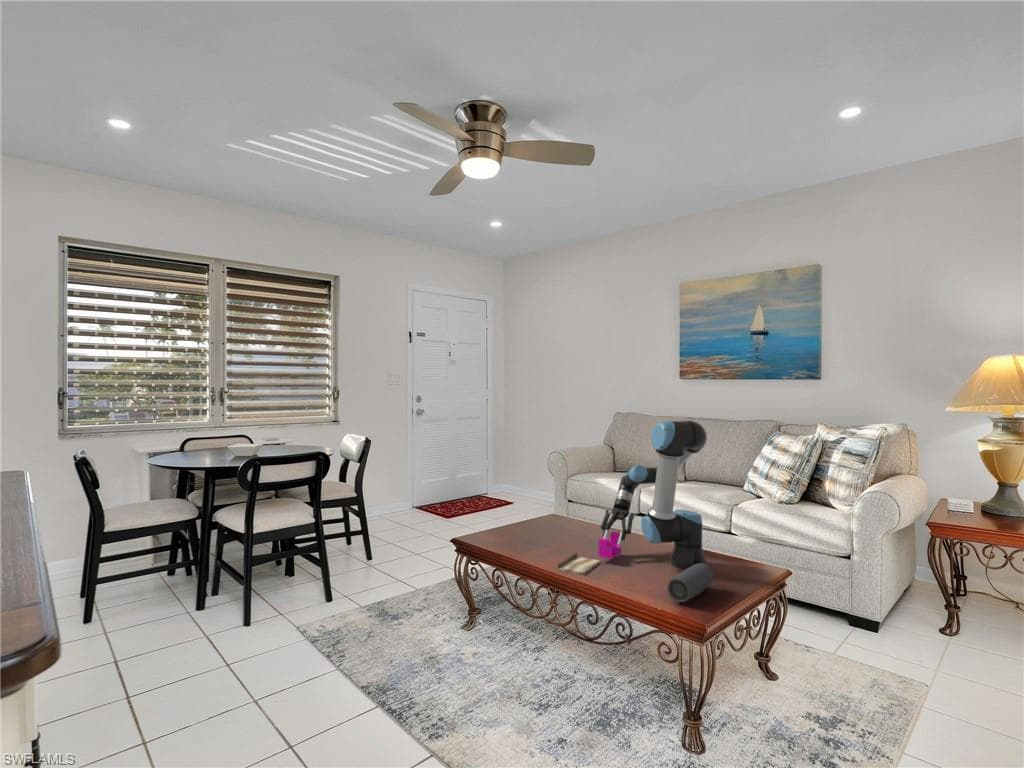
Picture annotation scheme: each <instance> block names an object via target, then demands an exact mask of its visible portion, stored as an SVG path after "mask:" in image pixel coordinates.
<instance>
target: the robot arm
mask: <svg viewBox="0 0 1024 768" xmlns="http://www.w3.org/2000/svg"><path fill="white" fill-rule="evenodd" d="M707 439H708V436H707V432H706V430H705V428H704V427H703V425H701V424H700V423H699V422H696V421H693V420H679V421H676V420H675V421H673V420H666V421H660V422H657V424H655V425H654V426H653V428H652V431H651V436H650V440H651V445H652V448H654V449H655V453H656V454H657V455H658V457H657V458H658V459H657V464H656V466H655V467H645V466H643V465H641V464H635V465H634V466H633V467H631V468H630V469H629V471H628V472H624V473H623V474H622V476H621V479H620V482H619V483H620V484H619V485H618V486H619V487H618V491H617V494H616V496H615V500H614V503H613V508H611V510H608V509H606V510H605V515H604V517H603V520H602V522H601V524H600V530H602V531H603V533H602V538H604V539H608V538H609V534H610V532H609V531H610V529H611V528H612V526H613V525H614V523H615V522H616V521H618V520H620V521H621V527H622V531H620V532H619V533H620V536H619V540H618V547H620V548H621V549H622V544H623V543H622V542H623V541H625V539H626V536H627V535H631V534H632V527H633V526H632V525H633V521H634V519H635V513H634V512H630V510H631V505H632V501H633V497H634V494H635V491H636V489H637V488H638V487H639V486H640V485H648V484H649V485H650V484H652V485H653V484H654V491H653V498H652V506H651V507H650V508H649V509H648V511H647V515H644V516H643V517H642V518H641V521H640V525H641V531H642V534H643V536H644V538H645V540H646V541H648V543H650V544H659V545H660V544H667V543H673V544H674V545H673V548H672V551H671V553H670V556H669V559H670V560H669V562H670V563H669V564H671V565H672V566H674V567H677V568H679V569H683V570H686V569H687V568H689V567H691V566H693V565H695V564H698V563H704V564H706V565H707V558H706V556H705V552H704V550H703V549H704V548H703V518H702V515H701V514H700V513H698V512H695V511H691V510H687V509H675V510H674V507H675V506H674V505H675V497H676V490H677V481H678V476H679V475H678V474H679V468H680V467H682V465H683V464H684V463H685V462H687V460H688V459H689V458H691V456H692V455H694V454H698V453H699V452H700V451H701V450H702V449H703V448H704V447H705V445H706V443H707ZM611 514H612V515H611ZM610 516H611V517H610ZM627 517H628V521H627V526H626V518H627Z"/></svg>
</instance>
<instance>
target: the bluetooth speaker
mask: <svg viewBox="0 0 1024 768" xmlns="http://www.w3.org/2000/svg"><path fill="white" fill-rule="evenodd" d="M713 580H714V573H713V570H712V568H711V567H710V566H709V565H708V564H707V563H706V564H704V563H698V564H695V565H693V566H691V567H689V568H687V569H683V570H682V571H681V572H680V573H678V574H677V575H675V576H674V577H672V578H671V579H670V581H669V582H668V584H667V593H668V594H669V596H670V597H671V599H673V600H674V601H676V602H679V603H684V602H688V601H690V600H689V599H692V598H693V599H695V598H696V597H697V596H699V595H700V594H701V593H702V592H703V591H704V590H706V588H707V587H709V586H710V585H711V583H712V582H713ZM695 596H696V597H695ZM694 597H695V598H694ZM693 599H692V600H693Z"/></svg>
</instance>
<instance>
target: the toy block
mask: <svg viewBox="0 0 1024 768" xmlns="http://www.w3.org/2000/svg"><path fill="white" fill-rule="evenodd" d="M620 533H621V532H615V531H612V532H610V533H609V534H610V536H609V539H608V538H607V539H604V538H603V537H600V538H598V557H599V558H606V559H611V560H612V559H614V558H616V557H617V556H618V555H620V554H622V547H621V548H620V547H618V540H619V536H620Z"/></svg>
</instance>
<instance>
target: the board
mask: <svg viewBox="0 0 1024 768" xmlns="http://www.w3.org/2000/svg"><path fill="white" fill-rule="evenodd" d="M597 564H598V565H599V564H601V560H599V559H595V558H594V559H593V558H588V557H582V556H578V553H577V552H574V553H572V554H571V555H569V556H568V557H566V558H565V559H563V560H562V561H560V562H559V563H557V571H560V570H561V571H562V572H566V573H572V574H576V573H577V575H581V574H582V576H585V575H586V574H587V573H589V572H590V571H591V570H592V568H593V567H594V568H595V567H597V566H598V565H597ZM594 568H593V569H594ZM588 571H589V572H588Z"/></svg>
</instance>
